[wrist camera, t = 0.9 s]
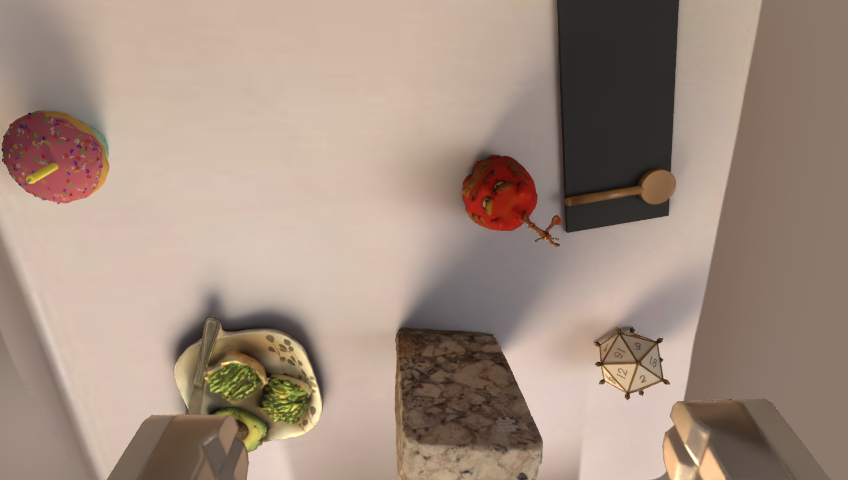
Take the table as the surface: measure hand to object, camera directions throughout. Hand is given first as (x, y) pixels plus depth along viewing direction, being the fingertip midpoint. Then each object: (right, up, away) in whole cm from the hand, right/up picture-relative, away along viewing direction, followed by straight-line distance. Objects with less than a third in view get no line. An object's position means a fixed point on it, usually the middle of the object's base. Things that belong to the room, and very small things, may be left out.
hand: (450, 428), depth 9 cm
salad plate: (-22, -15, +53) cm, 60 cm away
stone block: (+2, -10, +53) cm, 54 cm away
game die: (+24, -10, +55) cm, 61 cm away
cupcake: (-35, +13, +41) cm, 55 cm away
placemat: (+20, +17, +43) cm, 51 cm away
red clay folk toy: (+7, +10, +46) cm, 47 cm away
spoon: (+21, +9, +46) cm, 52 cm away
